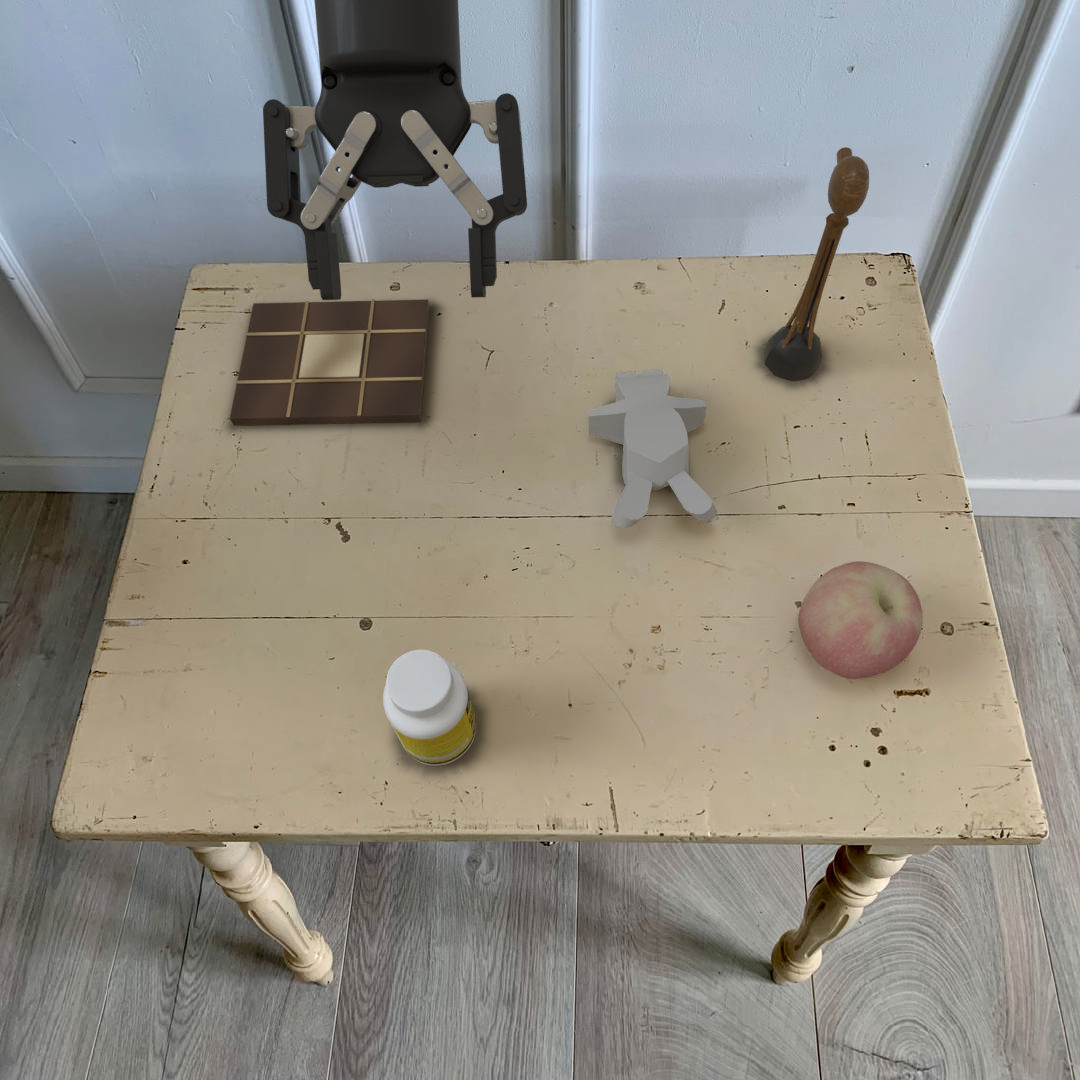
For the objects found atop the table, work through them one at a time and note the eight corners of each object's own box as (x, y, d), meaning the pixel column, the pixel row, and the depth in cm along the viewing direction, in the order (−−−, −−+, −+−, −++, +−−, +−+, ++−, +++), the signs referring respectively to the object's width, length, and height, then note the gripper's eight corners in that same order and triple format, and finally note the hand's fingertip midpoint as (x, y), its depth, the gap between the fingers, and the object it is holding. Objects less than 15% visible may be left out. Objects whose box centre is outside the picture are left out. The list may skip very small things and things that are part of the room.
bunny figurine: (697, 351, 72) (734, 494, 64) (691, 396, 77) (725, 536, 68) (582, 361, 72) (603, 505, 64) (582, 405, 76) (602, 546, 68)
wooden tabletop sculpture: (763, 327, 79) (819, 126, 61) (816, 330, 78) (888, 129, 61) (764, 379, 76) (823, 184, 58) (819, 382, 76) (895, 188, 58)
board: (233, 425, 75) (228, 417, 74) (256, 310, 81) (252, 301, 80) (420, 422, 75) (418, 413, 74) (429, 306, 81) (427, 297, 80)
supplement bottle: (491, 742, 61) (478, 695, 53) (421, 781, 60) (396, 740, 52) (455, 678, 64) (438, 623, 55) (387, 714, 63) (358, 665, 54)
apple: (871, 715, 61) (909, 675, 54) (770, 660, 64) (795, 615, 57) (913, 626, 65) (955, 577, 58) (816, 576, 67) (845, 523, 60)
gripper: (225, -42, 43) (262, 303, 48) (517, -51, 43) (526, 297, 47) (273, 5, 50) (301, 300, 55) (523, -3, 50) (530, 295, 55)
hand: (405, 298), depth 51 cm, fingers open, 8 cm apart
